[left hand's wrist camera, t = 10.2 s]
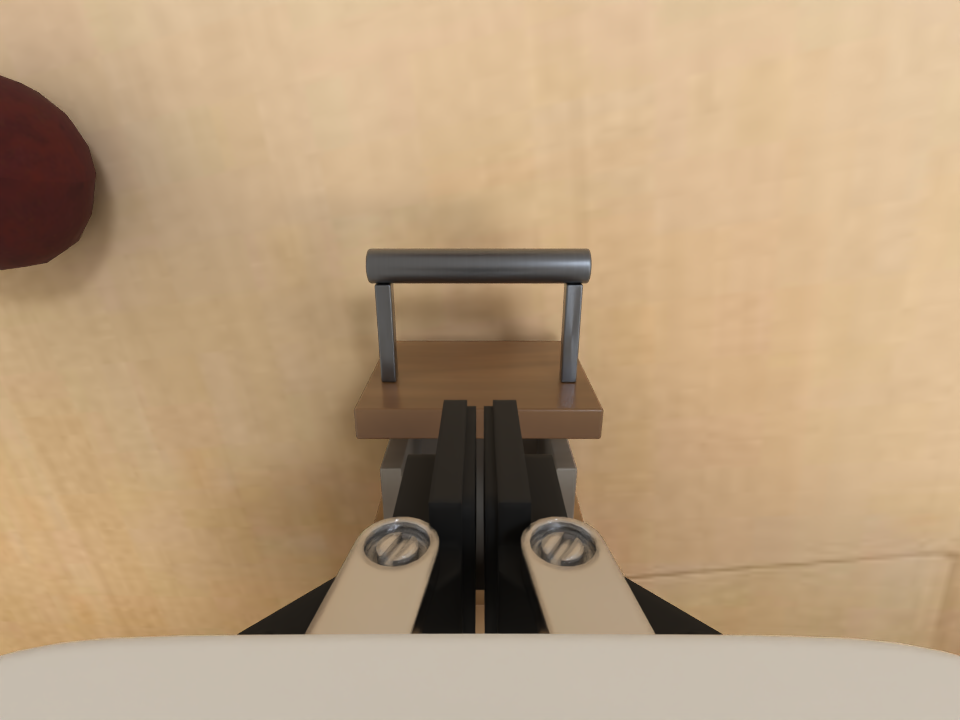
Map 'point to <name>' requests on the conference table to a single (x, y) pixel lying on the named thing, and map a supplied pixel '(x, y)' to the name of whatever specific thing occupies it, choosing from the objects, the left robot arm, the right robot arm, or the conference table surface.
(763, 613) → the conference table surface
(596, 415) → the drawer
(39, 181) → the potato
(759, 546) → the conference table surface
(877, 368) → the conference table surface
